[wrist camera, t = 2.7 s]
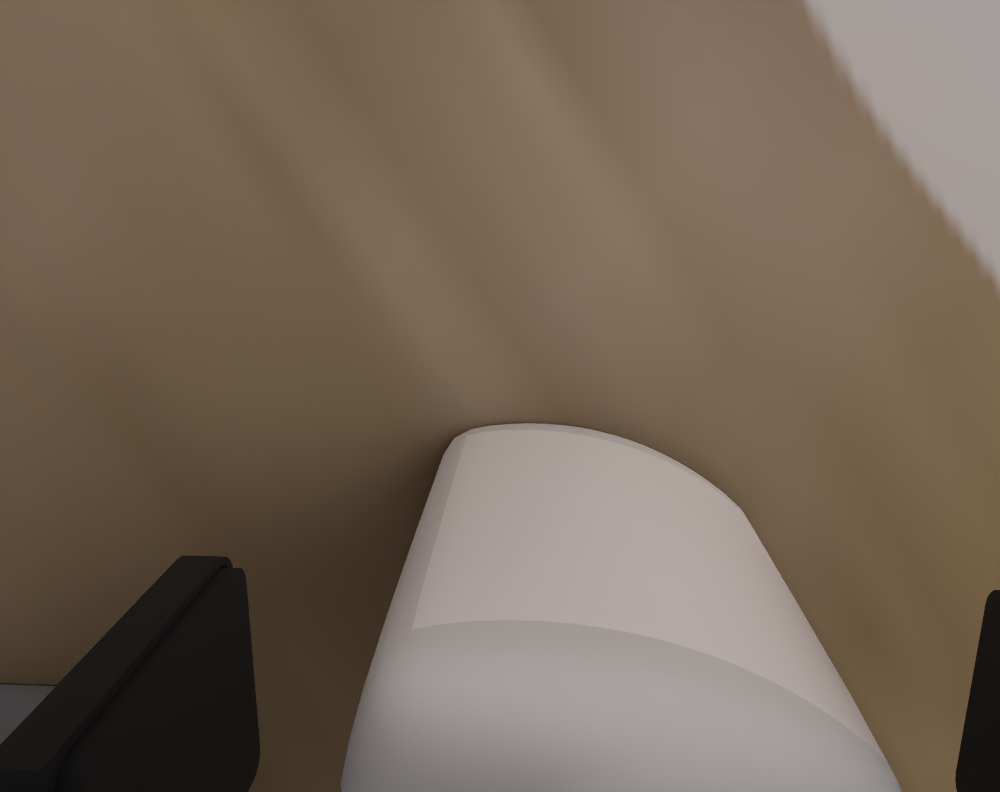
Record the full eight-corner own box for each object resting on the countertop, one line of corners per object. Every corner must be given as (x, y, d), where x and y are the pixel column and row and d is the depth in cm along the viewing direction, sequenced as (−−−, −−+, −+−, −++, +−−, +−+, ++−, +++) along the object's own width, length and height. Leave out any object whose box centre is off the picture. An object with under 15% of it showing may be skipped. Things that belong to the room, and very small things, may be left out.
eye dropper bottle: (564, 326, 14) (652, 987, 3) (777, 541, 15) (1560, 1763, 3) (393, 490, 15) (-91, 1505, 4) (603, 684, 16) (759, 2014, 4)
